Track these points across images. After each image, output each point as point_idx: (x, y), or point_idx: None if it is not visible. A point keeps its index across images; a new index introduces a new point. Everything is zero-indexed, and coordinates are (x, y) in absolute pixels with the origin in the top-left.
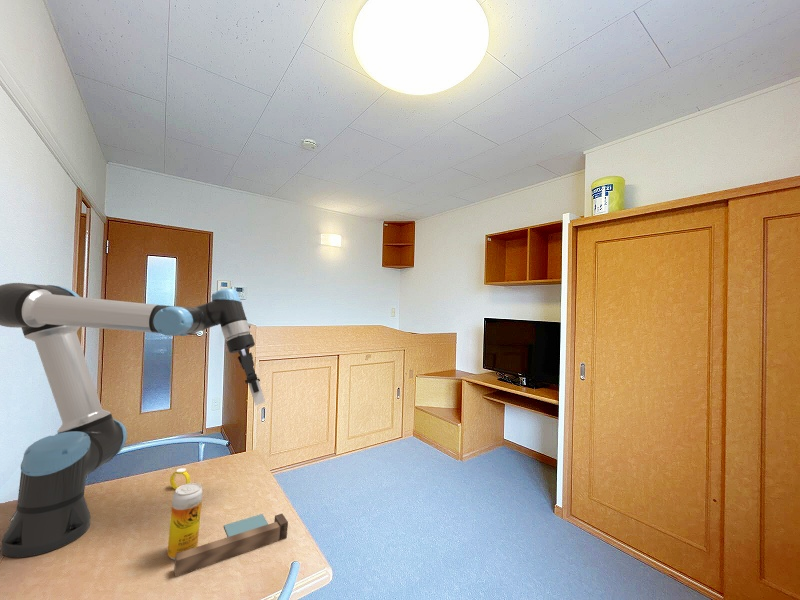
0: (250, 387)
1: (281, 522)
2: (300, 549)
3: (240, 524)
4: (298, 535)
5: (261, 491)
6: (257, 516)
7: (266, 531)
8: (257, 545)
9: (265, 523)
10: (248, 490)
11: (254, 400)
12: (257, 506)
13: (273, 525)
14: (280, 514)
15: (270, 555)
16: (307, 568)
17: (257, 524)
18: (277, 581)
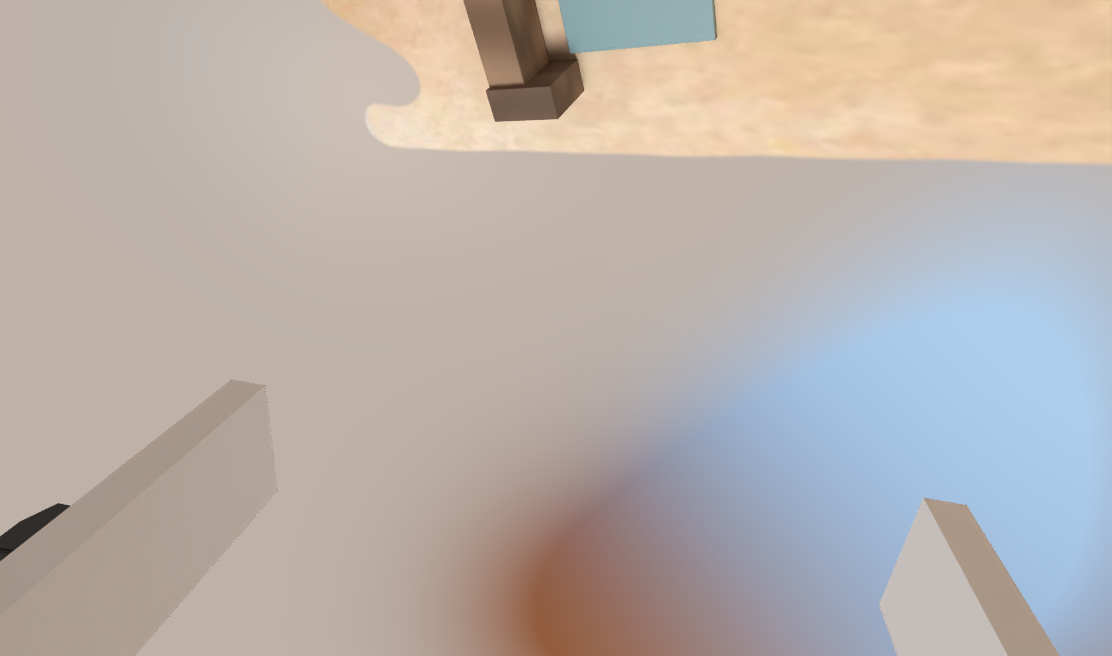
0: (1, 579)
1: (496, 98)
2: (458, 117)
3: None
4: (526, 135)
5: (982, 82)
6: (702, 12)
7: (472, 29)
8: None
9: (629, 38)
10: (1065, 5)
11: (188, 423)
12: (812, 28)
13: (501, 64)
14: (551, 110)
15: (447, 16)
16: (382, 108)
17: (636, 1)
18: (342, 13)
